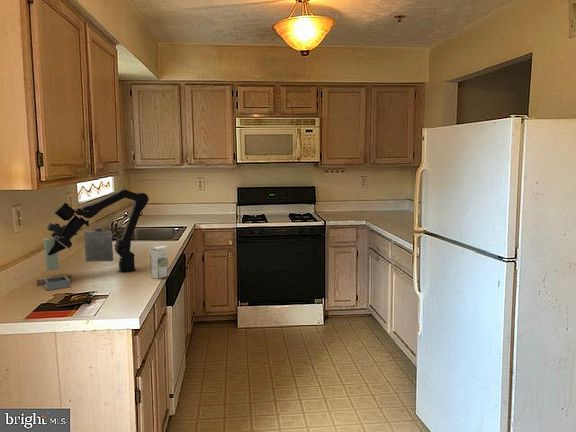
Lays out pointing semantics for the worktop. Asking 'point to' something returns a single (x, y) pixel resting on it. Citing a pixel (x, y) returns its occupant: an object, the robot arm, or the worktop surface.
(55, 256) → the bar
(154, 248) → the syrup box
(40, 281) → the brown wooden bar
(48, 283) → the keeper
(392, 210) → the worktop surface
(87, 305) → the worktop surface
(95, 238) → the flask
